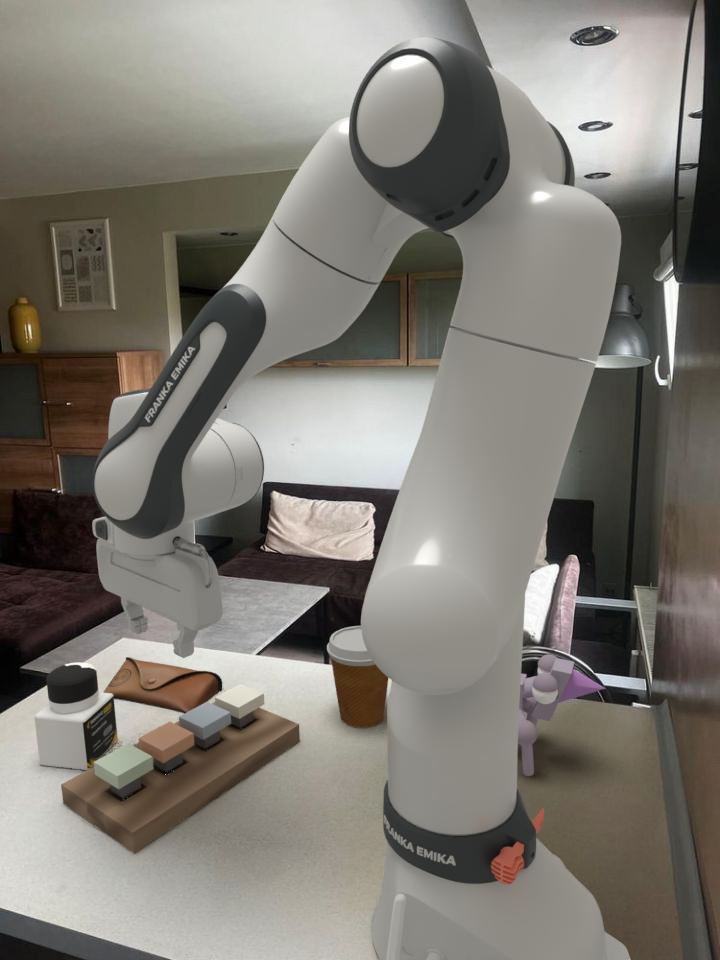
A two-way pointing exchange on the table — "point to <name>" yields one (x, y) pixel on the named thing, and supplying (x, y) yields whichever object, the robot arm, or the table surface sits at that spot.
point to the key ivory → (240, 703)
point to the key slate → (205, 723)
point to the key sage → (124, 769)
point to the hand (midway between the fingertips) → (160, 642)
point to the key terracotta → (167, 745)
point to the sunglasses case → (163, 685)
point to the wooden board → (180, 782)
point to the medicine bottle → (75, 719)
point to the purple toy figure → (547, 699)
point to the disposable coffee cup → (357, 679)
